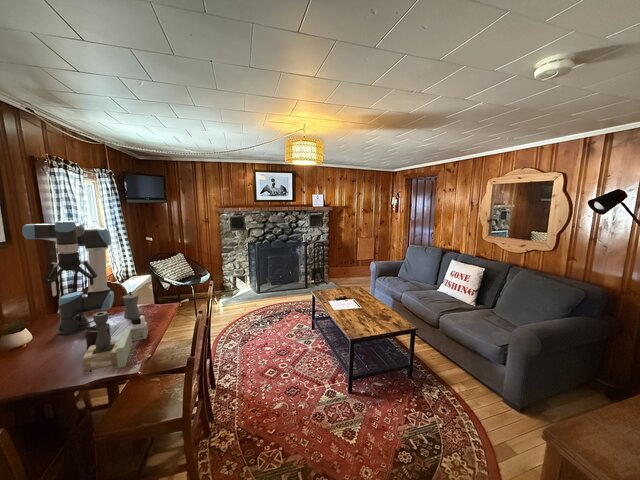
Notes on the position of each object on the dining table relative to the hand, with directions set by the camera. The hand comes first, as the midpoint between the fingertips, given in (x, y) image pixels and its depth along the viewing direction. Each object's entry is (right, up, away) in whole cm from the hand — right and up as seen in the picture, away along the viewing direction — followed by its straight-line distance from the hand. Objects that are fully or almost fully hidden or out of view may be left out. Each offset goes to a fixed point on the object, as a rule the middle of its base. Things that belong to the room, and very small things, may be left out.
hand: (73, 293), depth 135 cm
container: (+16, -32, +26) cm, 45 cm away
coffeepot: (-11, -28, +57) cm, 65 cm away
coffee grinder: (-4, -33, +17) cm, 37 cm away
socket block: (+14, -35, +2) cm, 38 cm away
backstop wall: (+22, -35, +6) cm, 42 cm away
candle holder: (+14, -35, +2) cm, 38 cm away
